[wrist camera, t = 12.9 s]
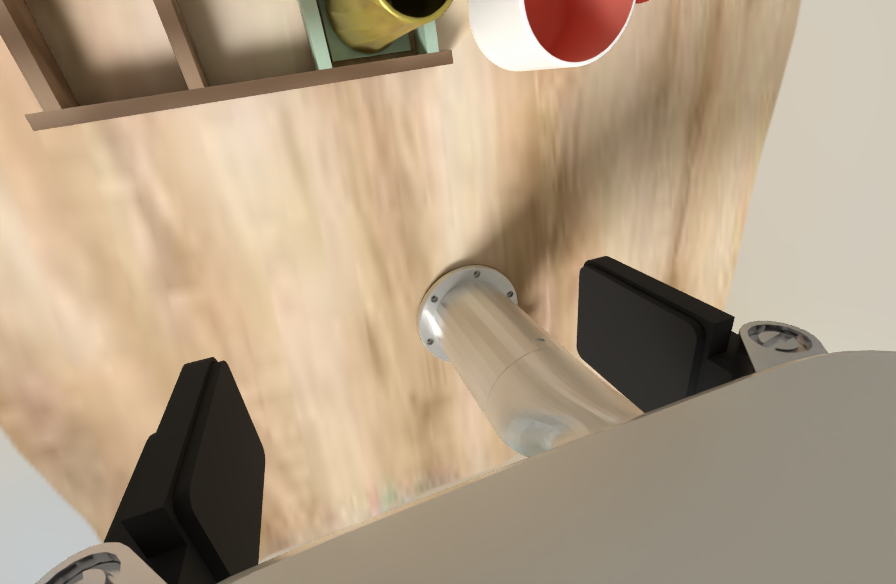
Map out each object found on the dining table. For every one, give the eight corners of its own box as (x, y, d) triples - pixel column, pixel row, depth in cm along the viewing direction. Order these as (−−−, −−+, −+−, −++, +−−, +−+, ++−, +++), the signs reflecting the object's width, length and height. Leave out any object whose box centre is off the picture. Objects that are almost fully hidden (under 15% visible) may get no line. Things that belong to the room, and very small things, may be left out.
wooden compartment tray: (441, 65, 37) (453, 63, 35) (54, 127, 30) (33, 130, 27) (422, -76, 32) (435, -90, 30) (-42, -43, 25) (-78, -58, 23)
